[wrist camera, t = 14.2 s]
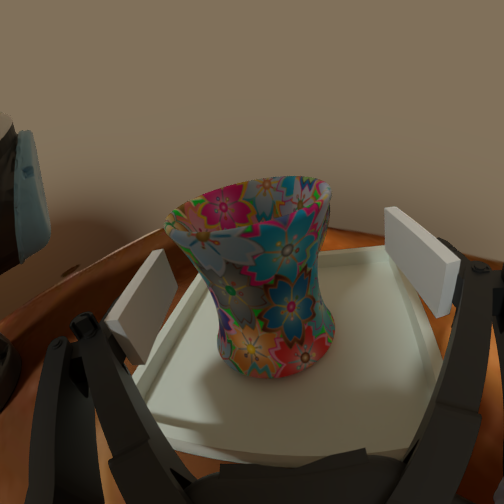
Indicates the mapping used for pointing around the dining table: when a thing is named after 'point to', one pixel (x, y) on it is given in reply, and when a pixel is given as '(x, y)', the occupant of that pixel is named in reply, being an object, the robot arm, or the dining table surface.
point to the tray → (301, 374)
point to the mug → (262, 270)
